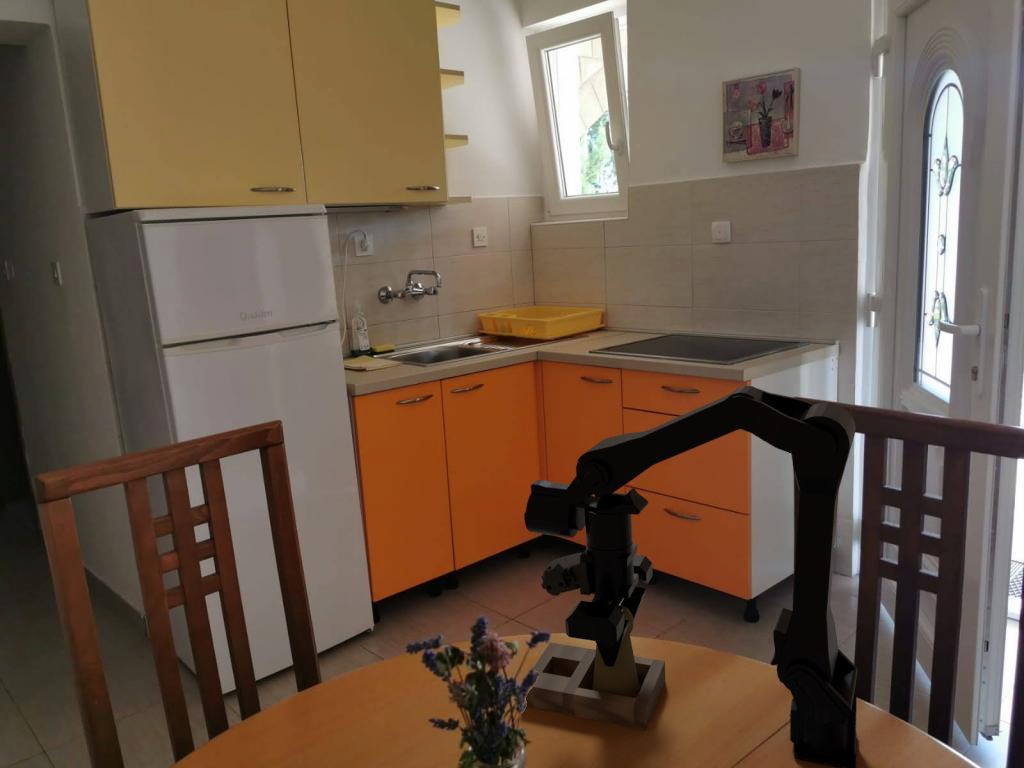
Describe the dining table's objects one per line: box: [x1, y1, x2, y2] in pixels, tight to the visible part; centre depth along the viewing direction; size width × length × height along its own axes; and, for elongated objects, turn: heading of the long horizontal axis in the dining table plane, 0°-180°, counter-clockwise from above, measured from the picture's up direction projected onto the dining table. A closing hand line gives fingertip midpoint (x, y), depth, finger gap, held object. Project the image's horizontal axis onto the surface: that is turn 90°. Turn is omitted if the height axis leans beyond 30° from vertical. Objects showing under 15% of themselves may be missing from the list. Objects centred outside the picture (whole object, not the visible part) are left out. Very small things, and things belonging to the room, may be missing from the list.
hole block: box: [526, 641, 666, 731], centre depth 103 cm, size 16×11×3 cm, turn 67°
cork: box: [591, 605, 640, 698], centre depth 100 cm, size 6×6×11 cm
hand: (614, 655), depth 101 cm, fingers closed on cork, 4 cm apart
